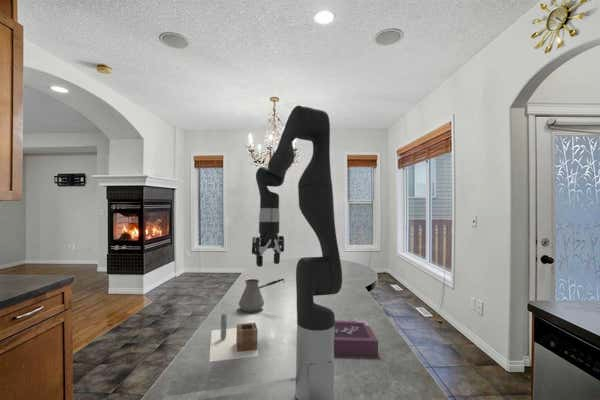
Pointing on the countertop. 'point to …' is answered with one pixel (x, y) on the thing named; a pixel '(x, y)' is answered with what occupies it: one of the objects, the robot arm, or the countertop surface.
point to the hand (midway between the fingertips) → (268, 264)
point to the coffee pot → (253, 296)
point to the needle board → (226, 344)
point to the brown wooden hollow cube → (246, 337)
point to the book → (354, 338)
